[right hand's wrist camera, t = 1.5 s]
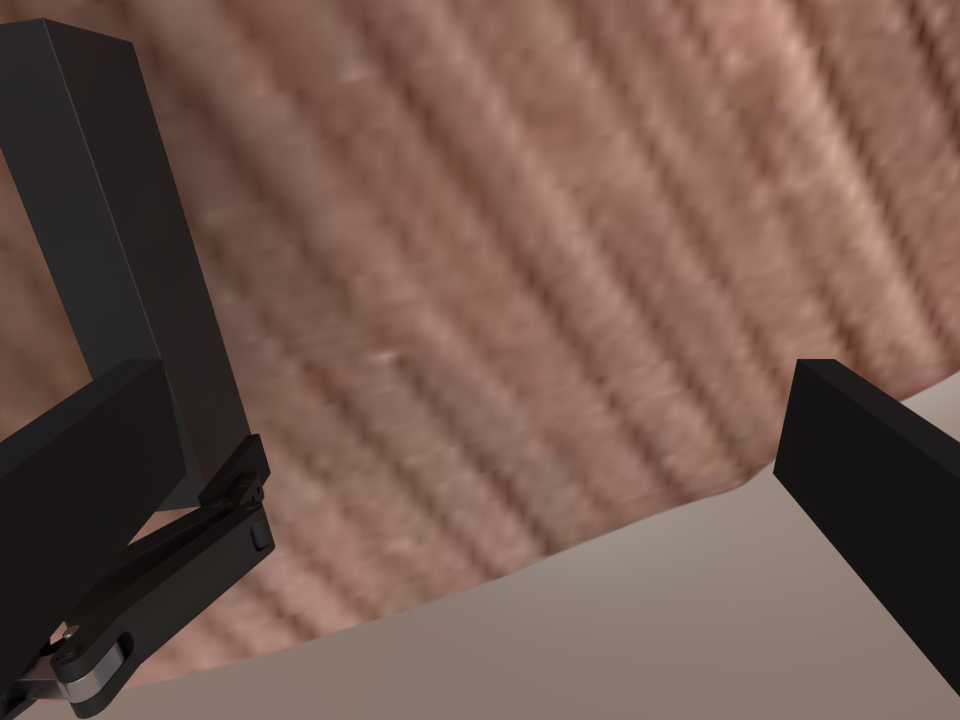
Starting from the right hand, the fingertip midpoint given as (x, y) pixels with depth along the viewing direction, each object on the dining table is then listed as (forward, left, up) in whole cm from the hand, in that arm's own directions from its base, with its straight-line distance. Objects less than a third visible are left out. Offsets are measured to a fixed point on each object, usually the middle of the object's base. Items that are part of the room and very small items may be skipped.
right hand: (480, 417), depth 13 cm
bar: (+6, -21, -30) cm, 37 cm away
